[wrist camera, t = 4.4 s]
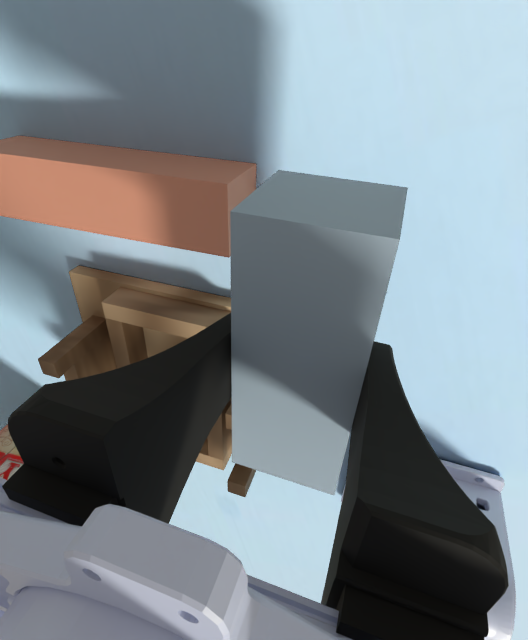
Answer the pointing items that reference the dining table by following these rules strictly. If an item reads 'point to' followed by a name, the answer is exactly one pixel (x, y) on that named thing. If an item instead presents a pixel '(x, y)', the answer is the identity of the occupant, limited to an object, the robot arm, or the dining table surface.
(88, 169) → the terracotta rectangular bar
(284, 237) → the pale grey pillar block
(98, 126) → the dining table surface
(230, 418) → the jig
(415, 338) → the dining table surface
